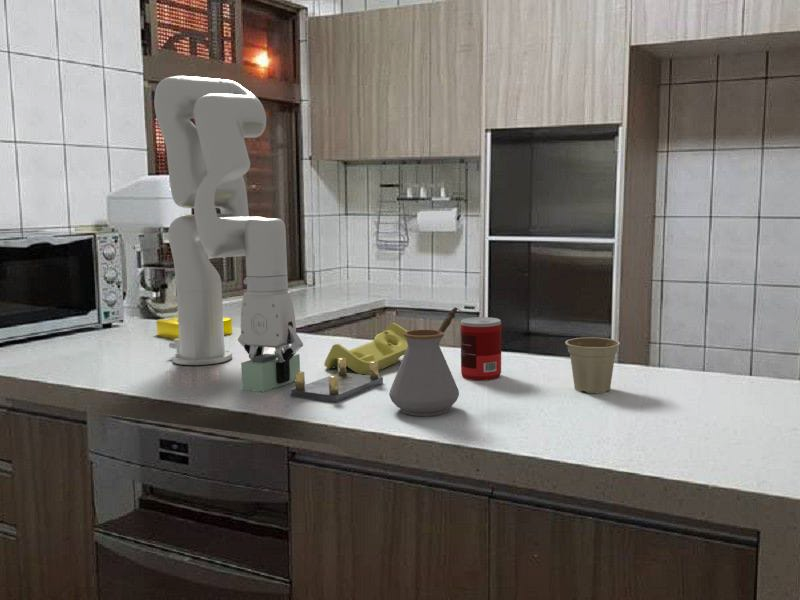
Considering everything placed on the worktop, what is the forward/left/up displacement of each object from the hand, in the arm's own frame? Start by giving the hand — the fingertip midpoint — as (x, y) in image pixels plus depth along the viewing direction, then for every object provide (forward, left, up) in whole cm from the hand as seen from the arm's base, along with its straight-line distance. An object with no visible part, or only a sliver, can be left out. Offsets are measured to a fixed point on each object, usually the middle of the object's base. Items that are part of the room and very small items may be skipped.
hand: (271, 379), depth 149 cm
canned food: (+33, +23, -1) cm, 40 cm away
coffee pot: (+34, +2, -1) cm, 34 cm away
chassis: (+14, +2, -1) cm, 14 cm away
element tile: (-54, +35, -2) cm, 64 cm away
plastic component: (+8, +23, -1) cm, 25 cm away
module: (0, 0, -1) cm, 1 cm away
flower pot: (+55, +22, -1) cm, 59 cm away
